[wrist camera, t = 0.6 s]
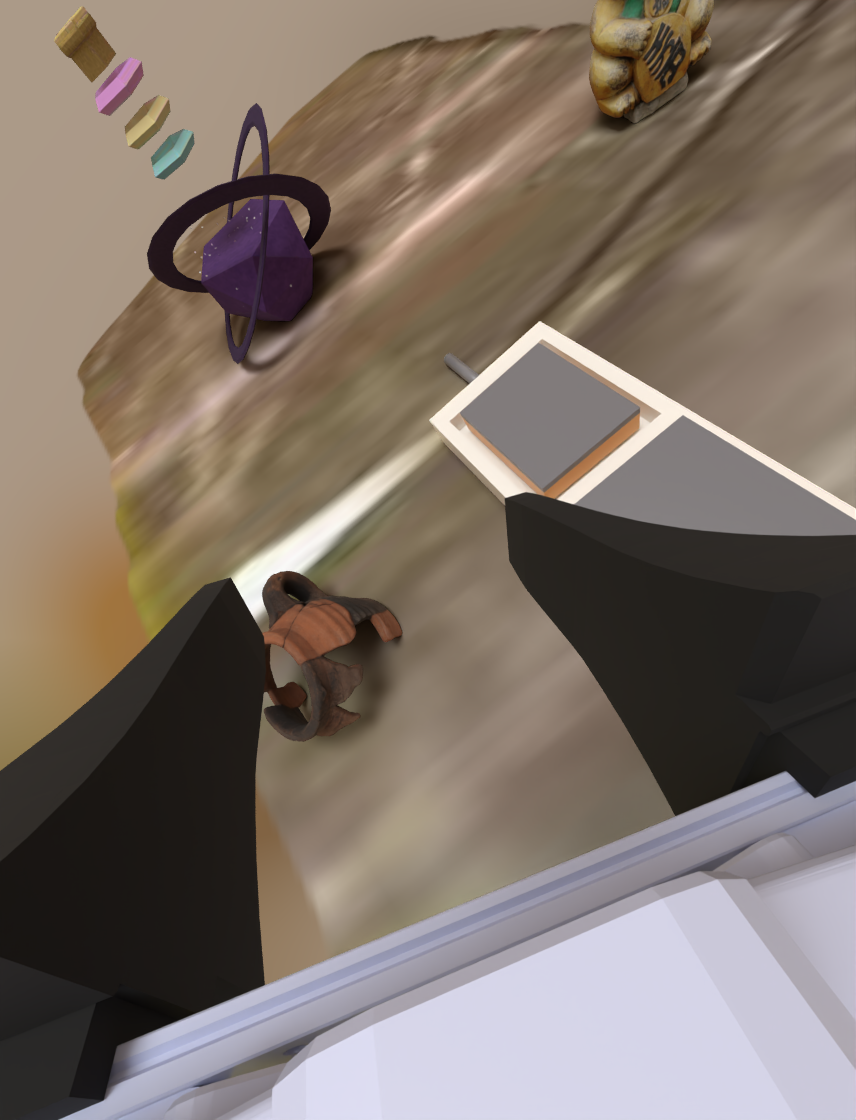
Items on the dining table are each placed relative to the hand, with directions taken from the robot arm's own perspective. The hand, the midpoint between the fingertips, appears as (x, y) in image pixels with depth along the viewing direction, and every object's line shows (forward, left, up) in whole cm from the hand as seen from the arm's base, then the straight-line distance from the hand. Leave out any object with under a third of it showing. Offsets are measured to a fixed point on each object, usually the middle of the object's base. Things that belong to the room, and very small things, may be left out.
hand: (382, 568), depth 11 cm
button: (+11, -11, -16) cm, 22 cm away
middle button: (-1, -11, -14) cm, 18 cm away
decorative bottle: (+53, -4, -18) cm, 56 cm away
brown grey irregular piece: (+9, +11, -18) cm, 23 cm away
